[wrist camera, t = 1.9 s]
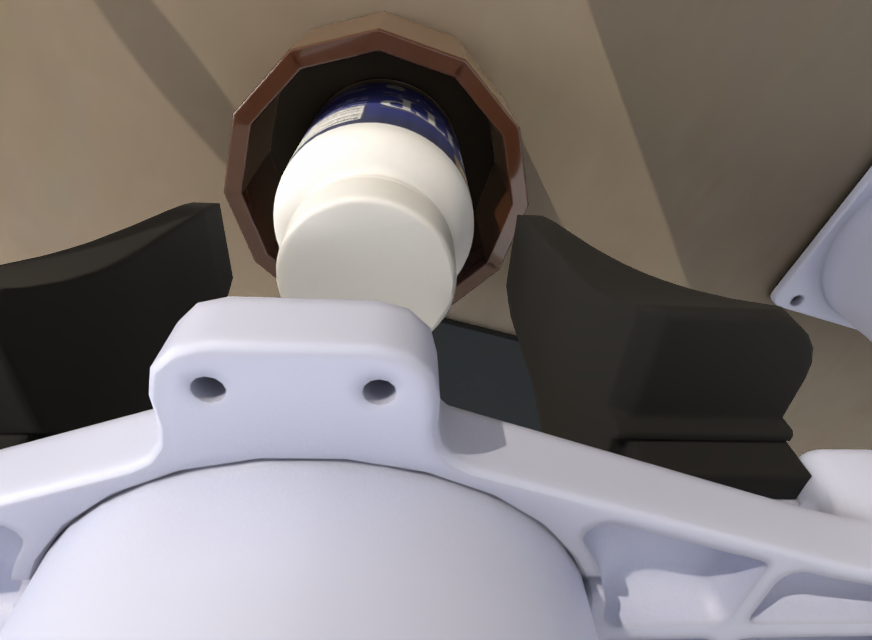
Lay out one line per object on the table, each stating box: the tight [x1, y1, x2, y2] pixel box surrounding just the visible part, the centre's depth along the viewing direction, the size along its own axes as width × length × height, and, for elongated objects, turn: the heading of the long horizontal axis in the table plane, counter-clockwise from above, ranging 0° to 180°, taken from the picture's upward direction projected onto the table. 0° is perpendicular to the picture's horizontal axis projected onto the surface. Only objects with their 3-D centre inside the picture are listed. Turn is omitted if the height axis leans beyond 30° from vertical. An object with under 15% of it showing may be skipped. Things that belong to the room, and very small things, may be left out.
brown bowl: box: [224, 11, 529, 305], centre depth 18 cm, size 9×9×4 cm
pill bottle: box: [273, 79, 474, 332], centre depth 16 cm, size 5×5×9 cm
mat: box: [432, 318, 541, 432], centre depth 26 cm, size 16×10×1 cm, turn 72°
